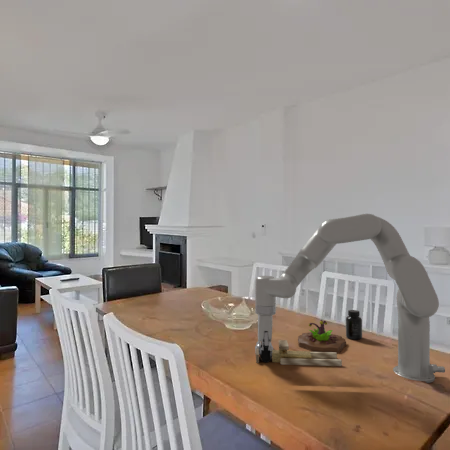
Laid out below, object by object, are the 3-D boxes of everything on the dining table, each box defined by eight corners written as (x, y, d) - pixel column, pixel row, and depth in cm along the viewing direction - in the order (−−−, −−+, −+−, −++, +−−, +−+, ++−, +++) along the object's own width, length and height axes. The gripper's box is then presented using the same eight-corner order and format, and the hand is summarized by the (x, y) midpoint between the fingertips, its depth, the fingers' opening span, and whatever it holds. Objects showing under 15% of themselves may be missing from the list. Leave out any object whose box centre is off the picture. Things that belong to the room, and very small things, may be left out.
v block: (255, 347, 146) (255, 340, 146) (272, 347, 145) (272, 341, 145) (255, 354, 138) (255, 347, 138) (274, 354, 137) (274, 347, 137)
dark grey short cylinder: (268, 343, 135) (273, 354, 134) (257, 348, 135) (262, 359, 135) (268, 348, 130) (274, 359, 129) (258, 353, 130) (263, 364, 130)
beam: (336, 357, 134) (336, 341, 134) (341, 366, 126) (341, 348, 126) (255, 355, 136) (255, 339, 136) (256, 363, 128) (256, 346, 128)
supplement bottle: (364, 337, 158) (364, 310, 158) (358, 341, 153) (358, 313, 153) (349, 334, 163) (349, 308, 163) (343, 337, 158) (343, 311, 158)
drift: (310, 361, 132) (310, 351, 132) (311, 364, 128) (311, 354, 128) (272, 359, 133) (272, 349, 133) (272, 363, 130) (272, 353, 130)
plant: (293, 349, 144) (293, 322, 144) (300, 335, 162) (300, 311, 162) (345, 356, 137) (345, 327, 137) (346, 340, 155) (346, 315, 155)
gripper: (255, 304, 141) (254, 349, 141) (255, 314, 124) (255, 366, 124) (273, 304, 140) (273, 350, 140) (277, 315, 123) (277, 367, 123)
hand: (265, 357), depth 132 cm, fingers closed on dark grey short cylinder, 5 cm apart
